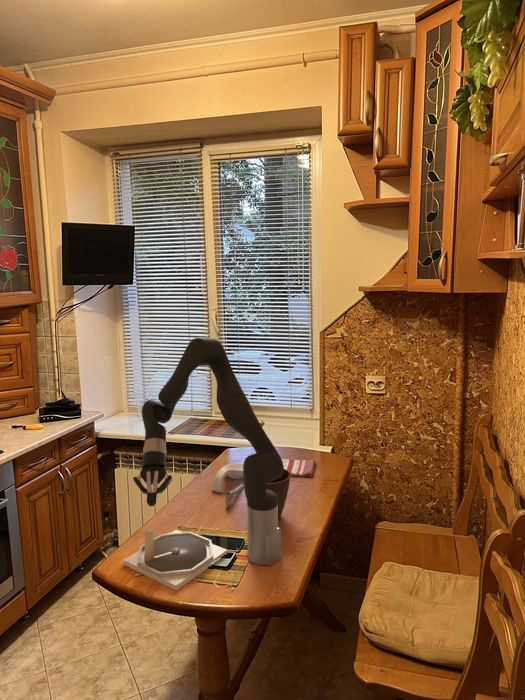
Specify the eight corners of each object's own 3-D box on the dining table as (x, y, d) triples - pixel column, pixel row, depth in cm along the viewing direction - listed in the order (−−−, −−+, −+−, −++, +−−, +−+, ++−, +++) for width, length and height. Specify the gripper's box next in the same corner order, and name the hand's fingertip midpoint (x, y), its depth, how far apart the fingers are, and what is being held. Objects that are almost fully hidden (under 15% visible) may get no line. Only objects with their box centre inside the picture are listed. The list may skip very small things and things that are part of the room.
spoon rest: (231, 469, 227) (230, 453, 226) (255, 473, 222) (255, 457, 221) (204, 490, 206) (203, 473, 205) (230, 495, 201) (230, 477, 200)
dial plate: (227, 554, 159) (227, 545, 159) (176, 590, 142) (175, 580, 141) (176, 533, 172) (175, 525, 172) (123, 564, 154) (123, 555, 154)
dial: (193, 533, 169) (192, 504, 167) (216, 560, 153) (215, 529, 152) (137, 548, 160) (135, 518, 158) (156, 579, 144) (154, 546, 142)
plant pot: (254, 530, 174) (253, 485, 171) (243, 510, 188) (243, 468, 185) (296, 524, 178) (296, 480, 175) (283, 505, 192) (282, 464, 189)
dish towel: (312, 479, 216) (312, 473, 216) (257, 475, 220) (257, 469, 220) (315, 464, 233) (315, 458, 232) (264, 461, 237) (264, 455, 236)
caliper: (228, 509, 189) (228, 493, 188) (225, 509, 190) (225, 493, 189) (244, 486, 209) (244, 472, 208) (242, 486, 209) (241, 471, 208)
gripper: (132, 450, 169) (128, 502, 159) (173, 449, 170) (171, 500, 160) (136, 460, 175) (131, 510, 165) (175, 458, 176) (173, 508, 166)
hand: (151, 505), depth 163 cm, fingers closed
